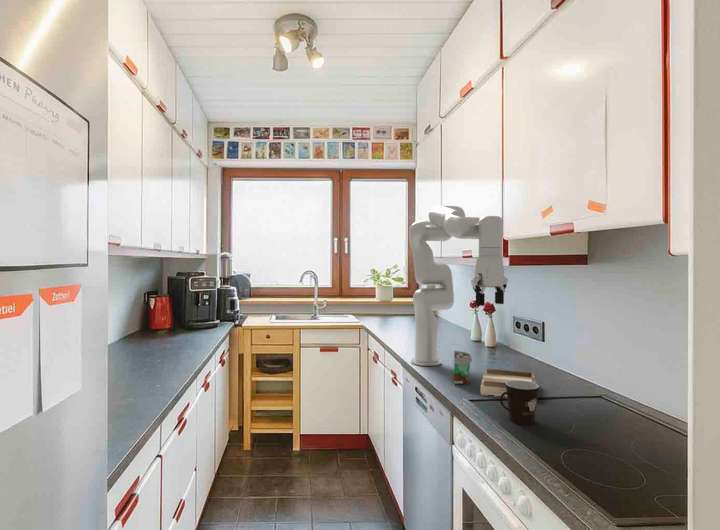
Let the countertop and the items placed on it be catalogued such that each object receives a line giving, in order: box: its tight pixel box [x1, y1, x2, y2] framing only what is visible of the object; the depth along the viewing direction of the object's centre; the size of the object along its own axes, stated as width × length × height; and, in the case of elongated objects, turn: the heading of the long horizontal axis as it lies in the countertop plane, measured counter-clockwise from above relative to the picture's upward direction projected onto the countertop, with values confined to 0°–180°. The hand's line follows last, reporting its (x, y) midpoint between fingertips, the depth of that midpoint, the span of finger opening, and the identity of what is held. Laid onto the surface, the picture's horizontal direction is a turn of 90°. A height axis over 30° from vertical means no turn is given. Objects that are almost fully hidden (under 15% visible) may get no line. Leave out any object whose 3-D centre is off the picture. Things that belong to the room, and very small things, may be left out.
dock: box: [480, 368, 537, 398], centre depth 153 cm, size 18×17×4 cm
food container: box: [453, 350, 473, 386], centre depth 162 cm, size 12×6×10 cm, turn 168°
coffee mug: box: [499, 380, 540, 426], centre depth 124 cm, size 12×9×10 cm
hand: (489, 304), depth 151 cm, fingers open, 9 cm apart
